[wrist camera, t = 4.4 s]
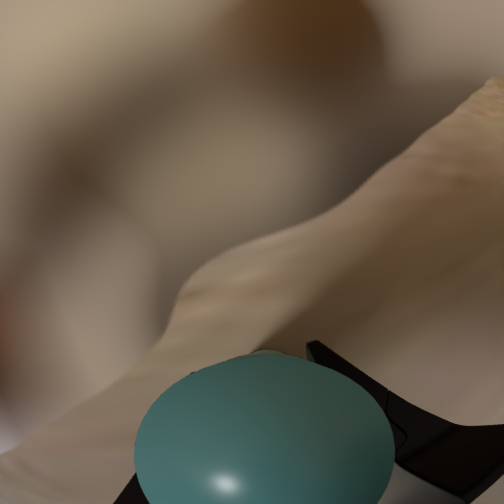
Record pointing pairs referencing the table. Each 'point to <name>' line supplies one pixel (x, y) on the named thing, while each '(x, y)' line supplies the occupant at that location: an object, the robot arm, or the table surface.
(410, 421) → the robot arm
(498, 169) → the table surface
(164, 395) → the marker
